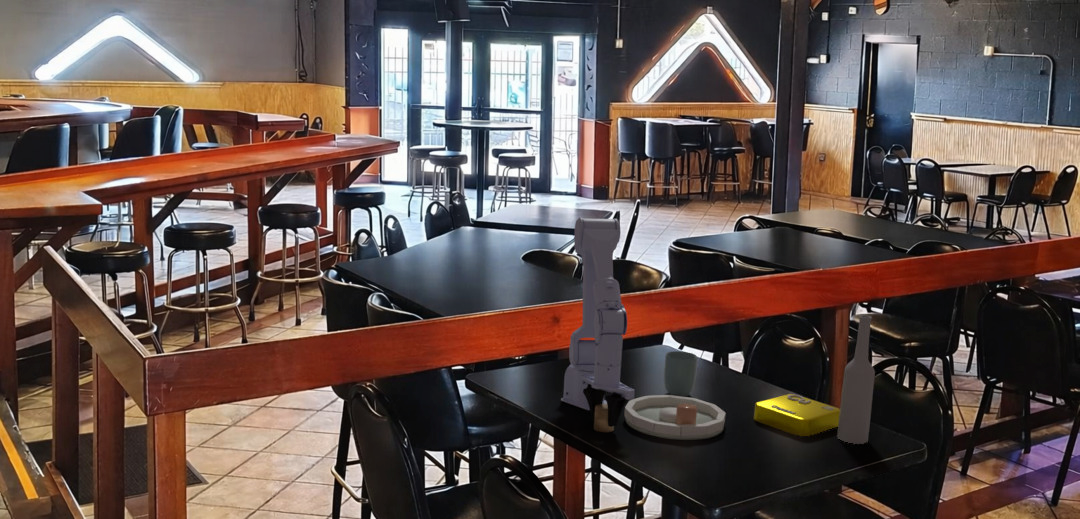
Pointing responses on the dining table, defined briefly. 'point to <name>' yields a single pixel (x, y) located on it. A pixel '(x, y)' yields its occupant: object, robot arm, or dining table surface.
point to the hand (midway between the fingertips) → (604, 422)
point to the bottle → (857, 390)
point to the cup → (680, 373)
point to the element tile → (797, 414)
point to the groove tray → (673, 417)
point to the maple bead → (602, 419)
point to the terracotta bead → (686, 414)
